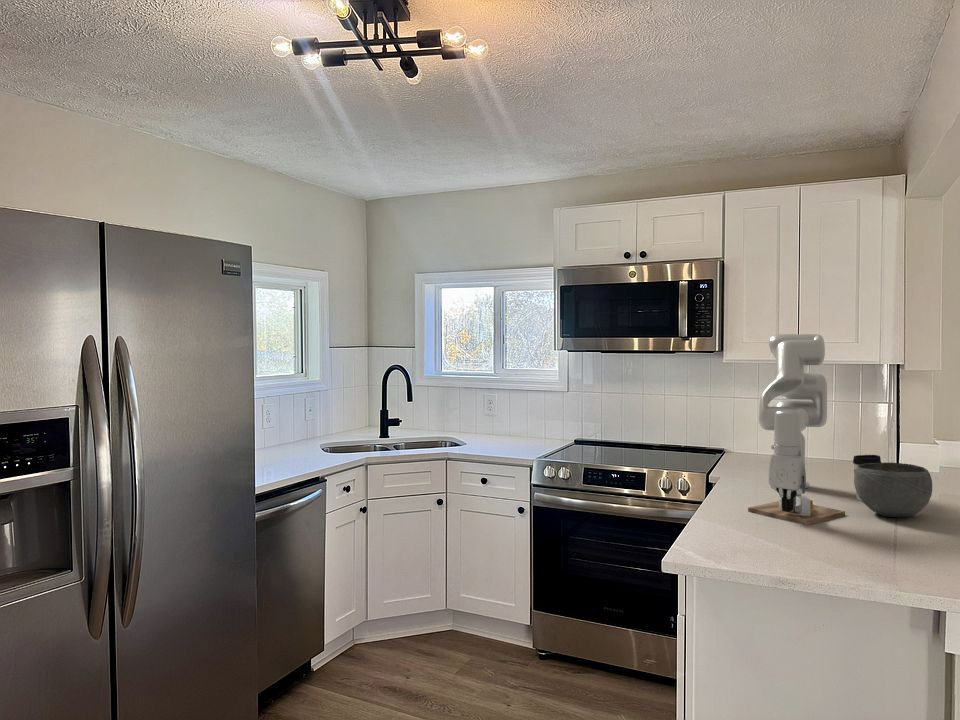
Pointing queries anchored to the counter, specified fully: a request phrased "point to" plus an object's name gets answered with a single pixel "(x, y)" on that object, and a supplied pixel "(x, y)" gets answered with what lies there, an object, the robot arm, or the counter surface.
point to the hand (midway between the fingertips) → (787, 510)
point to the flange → (800, 505)
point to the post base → (815, 513)
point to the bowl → (893, 488)
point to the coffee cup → (863, 460)
